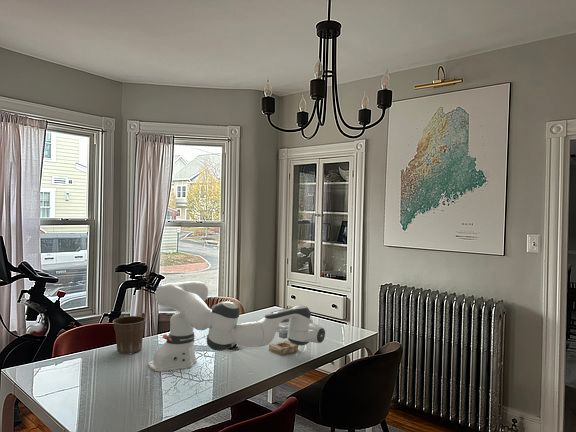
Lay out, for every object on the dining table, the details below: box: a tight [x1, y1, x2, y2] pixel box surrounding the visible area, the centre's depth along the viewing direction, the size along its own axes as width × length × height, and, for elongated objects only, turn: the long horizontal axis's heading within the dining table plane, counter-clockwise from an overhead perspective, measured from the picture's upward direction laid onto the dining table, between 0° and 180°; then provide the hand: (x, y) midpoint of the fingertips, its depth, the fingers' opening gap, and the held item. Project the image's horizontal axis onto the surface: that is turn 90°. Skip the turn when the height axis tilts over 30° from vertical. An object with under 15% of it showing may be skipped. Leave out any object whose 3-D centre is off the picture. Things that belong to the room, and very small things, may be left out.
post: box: [278, 318, 290, 340], centre depth 238 cm, size 4×4×13 cm
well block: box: [268, 340, 299, 356], centre depth 238 cm, size 12×10×3 cm
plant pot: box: [112, 315, 147, 355], centre depth 234 cm, size 16×16×16 cm
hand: (283, 322), depth 238 cm, fingers closed on post, 4 cm apart
